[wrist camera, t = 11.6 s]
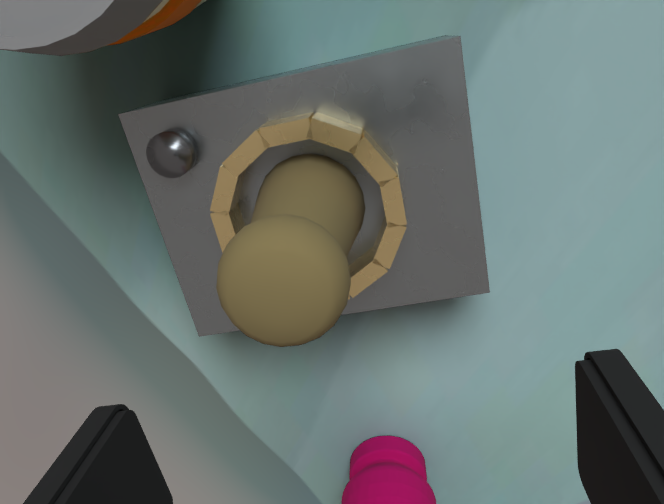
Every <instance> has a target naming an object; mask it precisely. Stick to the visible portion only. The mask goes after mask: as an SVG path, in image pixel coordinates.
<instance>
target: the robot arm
mask: <svg viewBox="0 0 664 504" xmlns="http://www.w3.org/2000/svg"><path fill="white" fill-rule="evenodd" d="M575 381H576V417H577V454H578V469H579V474H580V478H581V481H582V484H583V486H584V489H585V491H586V493H587V496H588V498H589V500H590V502H591V504H664V410H663V409H662V407H661V406H660V404H659V403H658V402H657V400H656V399H655V398H654V396H653V395H652V393H651V392H650V391H649V389H648V388H647V387H646V385H645V384H644V382H643V381H642V380H641V378H640V377H639V376H638V374H637V373H636V371H635V370H634V369H633V367H632V366H631V365H630V363H629V362H628V360H627V359H626V358H625V356H624V355H623V354H622V352H621V351H620V350H618V349H611V350H602V351H593V352H587V353H585V356H584V360H582V361H576V364H575ZM23 504H173V499H172V496H171V493H170V491H169V488H168V486H167V484H166V482H165V479H164V477H163V475H162V473H161V470H160V468H159V466H158V464H157V462H156V459H155V457H154V455H153V452H152V450H151V448H150V446H149V443H148V441H147V439H146V436H145V434H144V432H143V430H142V427H141V425H140V423H139V421H138V419H137V416H136V414H135V413H134V412H133V411H132V410H129V409H128V408H127V407H126V406H125V405H122V404H118V405H110V406H101V407H97V408H95V409H94V410H93V411H92V413H91V414H90V415H89V416H88V418H87V419H86V420H85V422H84V423H83V425H82V426H81V427H80V429H79V430H78V431H77V432H76V434H75V435H74V436H73V438H72V439H71V440H70V442H69V443H68V444H67V446H66V447H65V449H64V450H63V451H62V452H61V454H60V455H59V456H58V458H57V459H56V460H55V462H54V463H53V464H52V466H51V467H50V468H49V470H48V471H47V473H46V474H45V475H44V476H43V478H42V479H41V480H40V482H39V483H38V485H37V486H36V487H35V488H34V490H33V491H32V492H31V494H30V495H29V496H28V498H27V499H26V500H25V502H24V503H23Z"/></svg>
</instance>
